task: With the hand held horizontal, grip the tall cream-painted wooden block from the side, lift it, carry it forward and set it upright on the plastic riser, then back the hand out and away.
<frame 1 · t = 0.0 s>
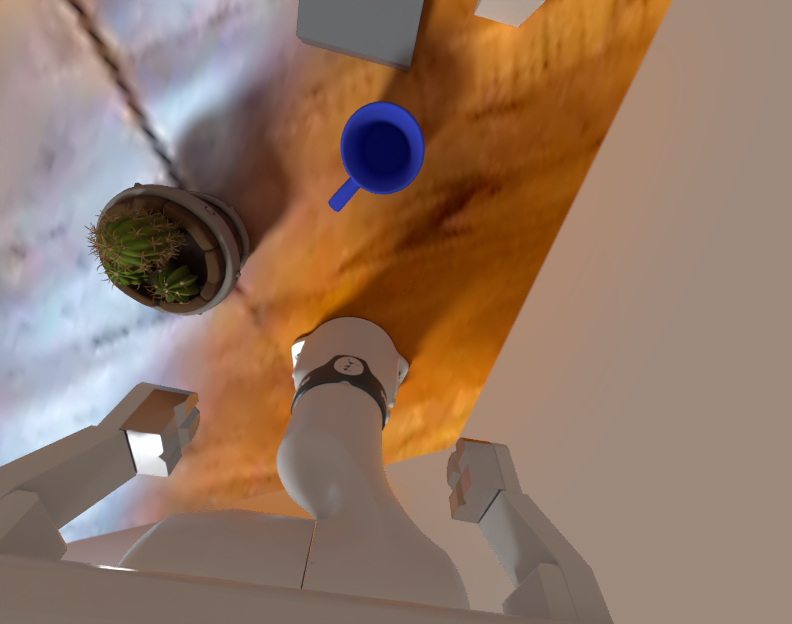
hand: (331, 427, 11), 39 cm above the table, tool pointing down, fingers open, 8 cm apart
flowerpot: (211, 234, 47), on the table
mug: (374, 161, 43), on the table
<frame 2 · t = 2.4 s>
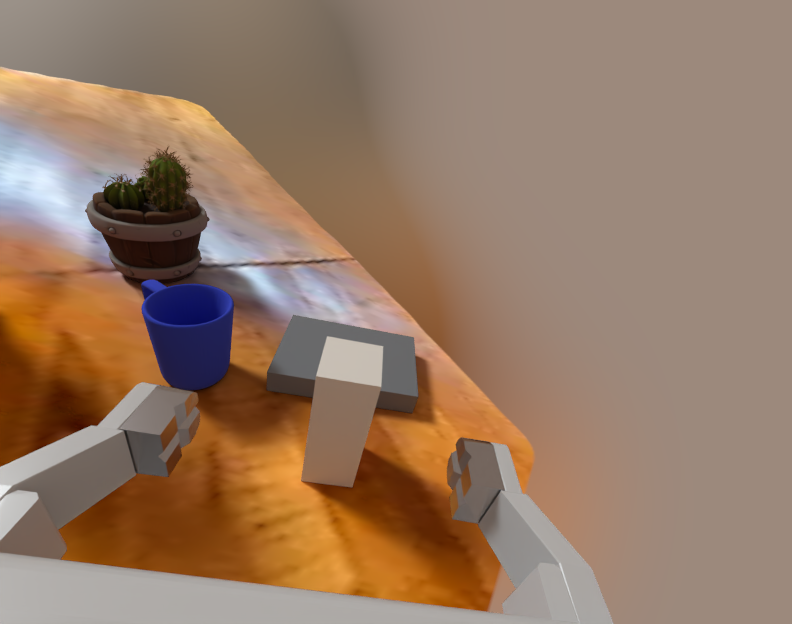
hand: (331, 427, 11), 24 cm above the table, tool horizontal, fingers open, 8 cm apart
flowerpot: (160, 270, 57), on the table
mug: (187, 366, 42), on the table
riser: (346, 368, 47), on the table
block: (330, 461, 36), on the table
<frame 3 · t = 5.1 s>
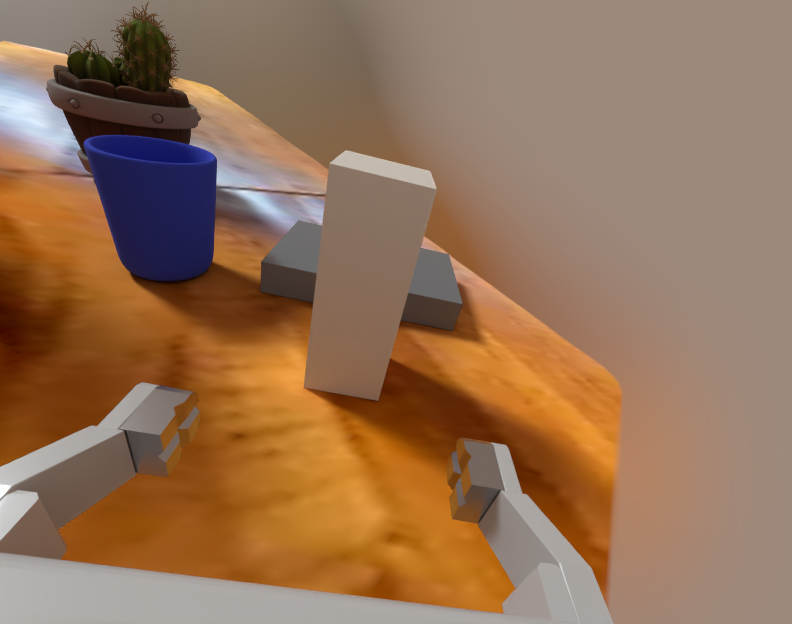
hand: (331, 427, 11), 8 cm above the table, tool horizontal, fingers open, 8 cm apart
flowerpot: (141, 182, 48), on the table
mug: (158, 261, 32), on the table
riser: (365, 282, 37), on the table
block: (346, 369, 25), on the table
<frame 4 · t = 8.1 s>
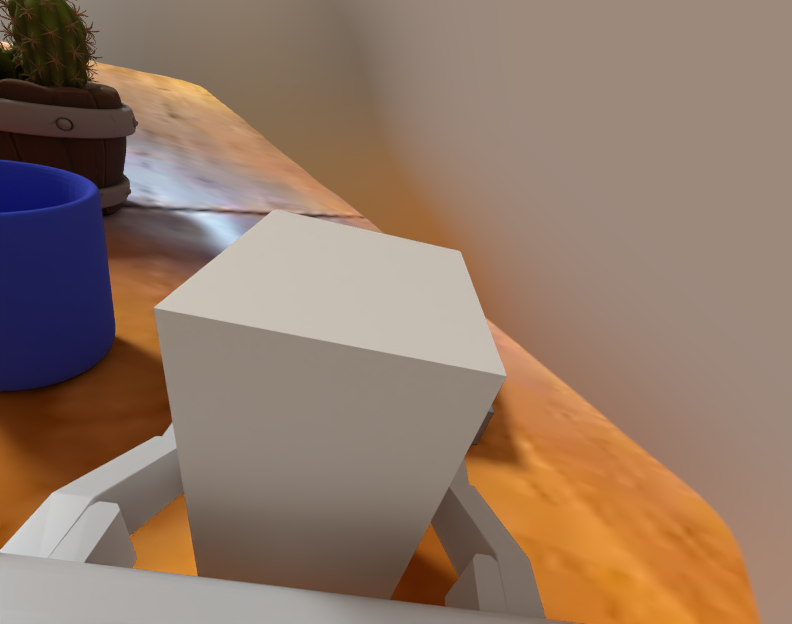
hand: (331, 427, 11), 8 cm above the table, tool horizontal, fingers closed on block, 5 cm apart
flowerpot: (63, 206, 37), on the table
mug: (31, 344, 21), on the table
block: (302, 574, 14), on the table, touching gripper
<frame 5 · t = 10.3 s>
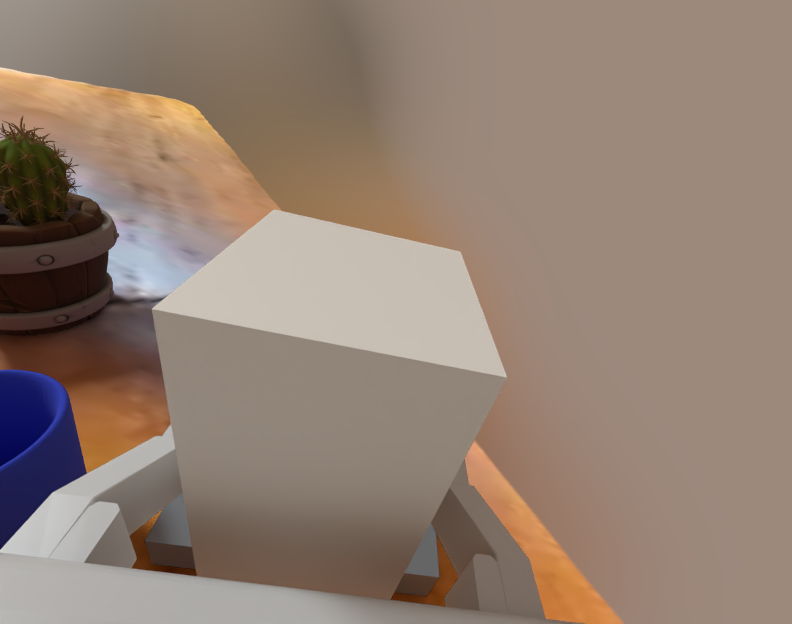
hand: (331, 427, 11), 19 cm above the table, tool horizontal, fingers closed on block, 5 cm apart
flowerpot: (48, 310, 38), on the table
mug: (11, 512, 23), on the table
riser: (314, 492, 28), on the table
block: (302, 575, 14), point 11 cm above the table, touching gripper
when the fingers open (12 cm above the table, at t = 12.6 s): block drops 1 cm, resting on riser.
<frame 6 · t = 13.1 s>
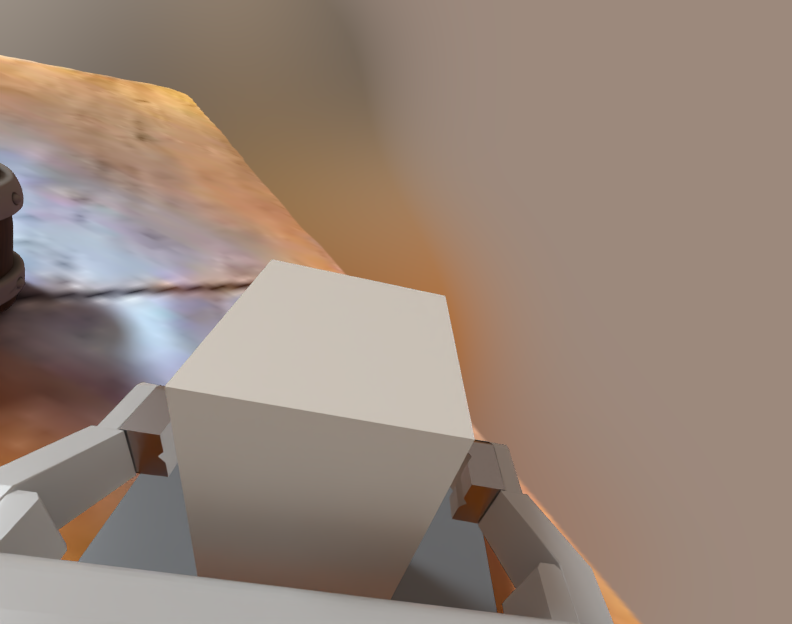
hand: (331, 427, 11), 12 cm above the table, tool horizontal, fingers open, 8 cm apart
riser: (295, 614, 16), on the table
block: (299, 589, 15), point 3 cm above the table, touching riser
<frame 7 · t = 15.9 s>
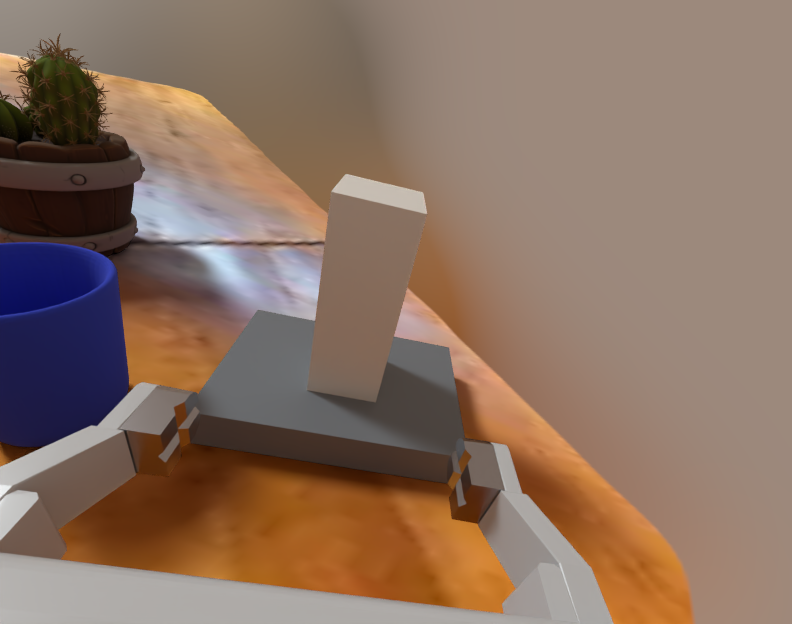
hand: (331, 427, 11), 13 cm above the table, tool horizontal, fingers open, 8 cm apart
flowerpot: (75, 245, 39), on the table
mug: (53, 396, 23), on the table
riser: (341, 399, 28), on the table
block: (346, 372, 27), point 3 cm above the table, touching riser
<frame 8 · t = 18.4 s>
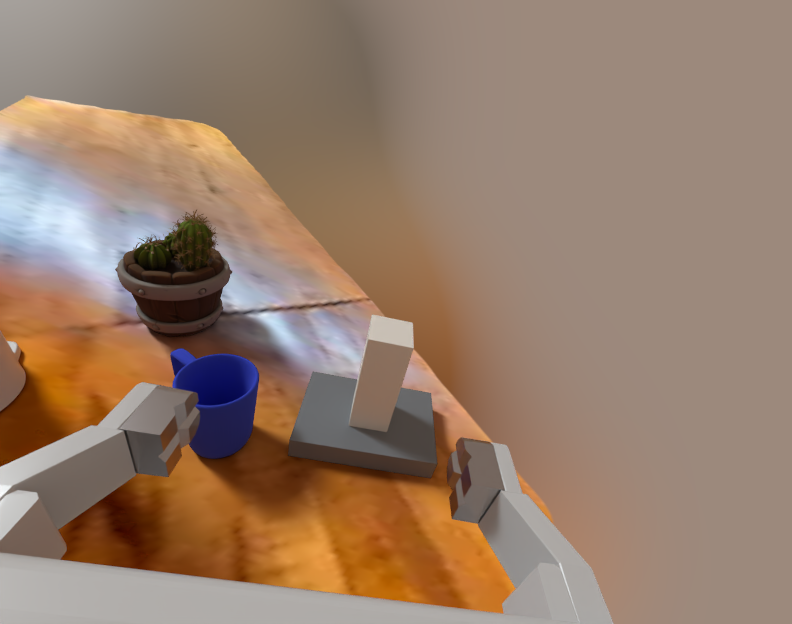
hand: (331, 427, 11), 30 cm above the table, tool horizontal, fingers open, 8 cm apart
flowerpot: (183, 320, 59), on the table
mug: (211, 429, 43), on the table
riser: (365, 428, 48), on the table
block: (369, 413, 46), point 3 cm above the table, touching riser
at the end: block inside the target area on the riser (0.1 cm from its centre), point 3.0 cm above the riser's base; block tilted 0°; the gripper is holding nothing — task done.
